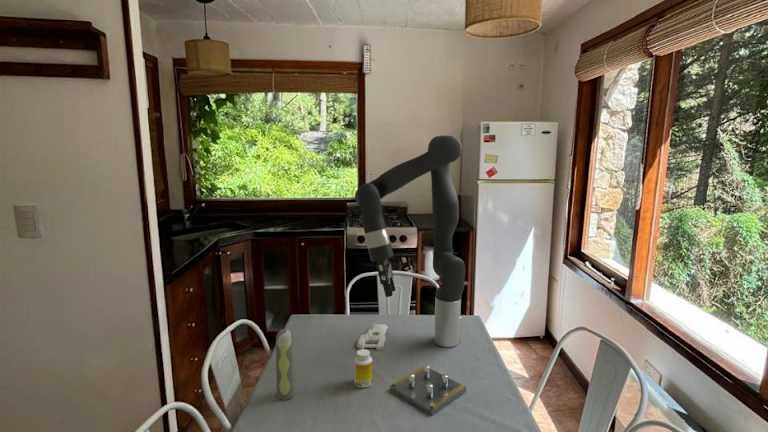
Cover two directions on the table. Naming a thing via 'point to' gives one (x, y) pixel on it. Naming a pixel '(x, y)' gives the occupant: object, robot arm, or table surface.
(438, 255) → the robot arm
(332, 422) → the table surface
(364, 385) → the supplement bottle
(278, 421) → the table surface
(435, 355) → the table surface
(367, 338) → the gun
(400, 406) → the table surface
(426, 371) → the grey peg fixture plate
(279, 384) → the tall green-filled container
